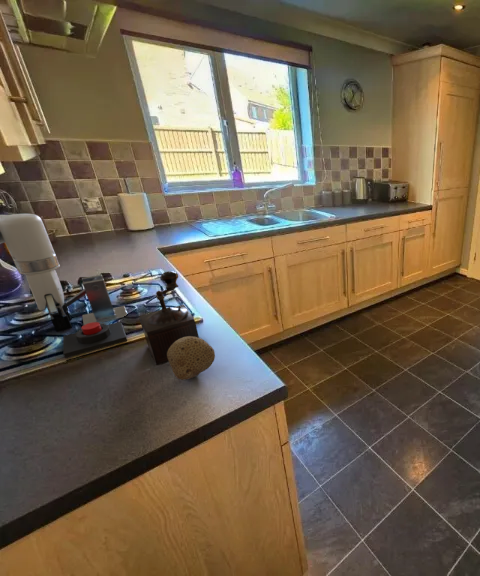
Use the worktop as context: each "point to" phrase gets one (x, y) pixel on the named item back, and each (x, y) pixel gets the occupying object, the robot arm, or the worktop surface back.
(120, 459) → the worktop surface
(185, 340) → the natural sponge
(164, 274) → the manual coffee grinder
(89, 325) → the stop button
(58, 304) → the switch lever
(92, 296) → the switch bracket
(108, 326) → the control block
